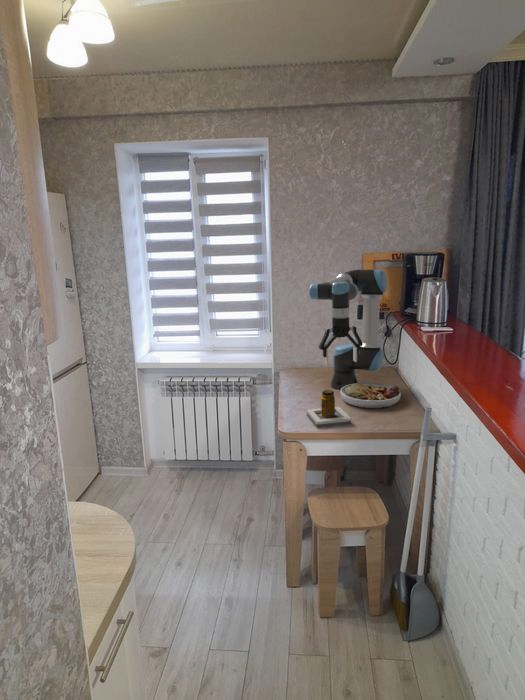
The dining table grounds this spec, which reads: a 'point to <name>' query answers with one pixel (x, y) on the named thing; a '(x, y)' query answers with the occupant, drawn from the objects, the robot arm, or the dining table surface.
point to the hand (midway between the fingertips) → (340, 362)
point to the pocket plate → (321, 422)
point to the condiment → (328, 405)
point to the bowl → (370, 395)
